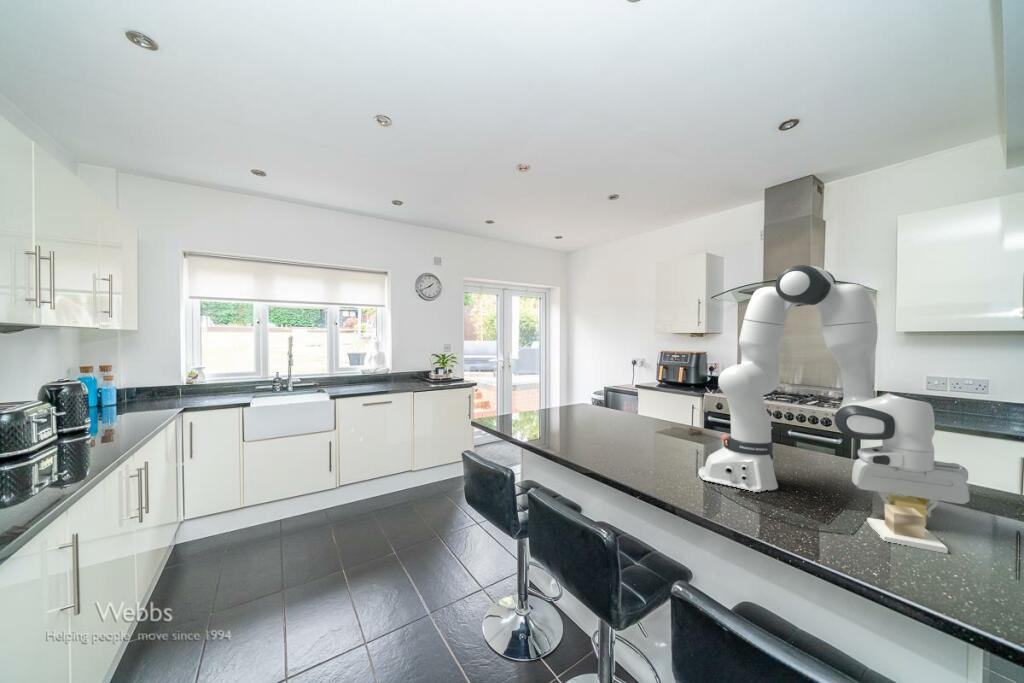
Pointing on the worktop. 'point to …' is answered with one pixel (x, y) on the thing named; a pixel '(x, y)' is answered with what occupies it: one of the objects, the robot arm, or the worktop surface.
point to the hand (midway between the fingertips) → (906, 512)
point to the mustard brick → (908, 503)
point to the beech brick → (905, 521)
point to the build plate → (889, 536)
